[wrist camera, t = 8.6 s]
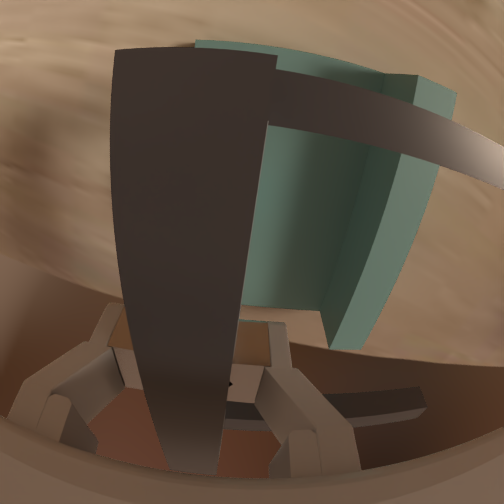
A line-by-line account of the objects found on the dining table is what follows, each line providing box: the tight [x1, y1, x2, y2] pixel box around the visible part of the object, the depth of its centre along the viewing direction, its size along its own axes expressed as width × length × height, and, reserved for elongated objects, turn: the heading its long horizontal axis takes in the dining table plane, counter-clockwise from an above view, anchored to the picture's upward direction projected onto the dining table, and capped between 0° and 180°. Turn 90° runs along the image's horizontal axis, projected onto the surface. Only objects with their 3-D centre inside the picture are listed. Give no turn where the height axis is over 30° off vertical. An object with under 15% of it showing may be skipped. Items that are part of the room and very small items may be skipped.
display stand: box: [195, 40, 457, 350], centre depth 16 cm, size 17×14×5 cm
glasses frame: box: [110, 47, 504, 475], centre depth 9 cm, size 14×13×4 cm
